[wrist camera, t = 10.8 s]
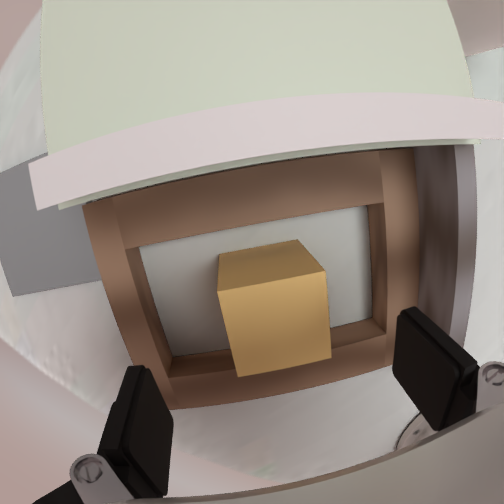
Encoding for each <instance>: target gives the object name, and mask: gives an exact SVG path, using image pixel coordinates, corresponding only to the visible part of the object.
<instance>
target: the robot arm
mask: <svg viewBox="0 0 504 504" xmlns="http://www.w3.org/2000/svg"><path fill="white" fill-rule="evenodd" d="M392 371H393V374H394V376H395V378H396V379H397V381H398V382H399V383H400V385H401V386H402V387H403V389H404V390H405V392H406V393H407V394H408V396H409V397H410V399H411V400H412V401H413V403H414V404H415V405H416V407H417V408H418V410H419V411H420V413H421V414H420V415H419V416H418V417H417V418H416V419H415V420H414V421H413V422H412V423H411V424H410V425H409V427H408V428H407V429H406V431H405V432H404V433H403V435H402V437H401V439H400V441H399V443H398V446H397V450H396V451H394V452H391V453H389V454H386V455H383V456H381V457H378V458H375V459H373V460H370V461H367V462H364V463H361V464H358V465H355V466H352V467H349V468H346V469H342V470H339V471H336V472H332V473H329V474H325V475H321V476H317V477H314V478H310V479H305V480H301V481H297V482H292V483H288V484H283V485H278V486H273V487H267V488H261V489H255V490H249V491H242V492H234V493H225V494H216V495H205V496H193V497H192V496H191V497H174V498H173V497H171V498H163V496H166V495H167V492H168V480H169V468H170V456H171V446H172V436H173V426H174V423H173V418H172V415H171V413H170V411H169V409H168V407H167V405H166V403H165V401H164V399H163V397H162V394H161V392H160V390H159V388H158V386H157V383H156V381H155V379H154V377H153V374H152V372H151V370H150V369H149V368H145V366H144V365H135V366H129V367H128V368H127V370H126V373H125V376H124V379H123V382H122V385H121V387H120V390H119V393H118V396H117V399H116V401H115V402H113V404H112V407H111V410H110V413H109V416H108V419H107V422H106V425H105V428H104V431H103V434H102V438H101V441H100V444H99V448H98V451H97V454H86V455H83V456H81V457H79V458H78V459H77V460H75V462H74V463H73V464H72V466H71V468H70V478H71V480H70V481H68V482H67V483H65V484H63V485H62V486H60V487H59V488H57V489H55V490H54V491H52V492H50V493H48V494H47V495H45V496H43V497H41V498H40V499H38V500H36V501H35V502H34V503H33V504H504V363H502V362H497V361H491V362H487V363H485V364H484V365H482V366H481V367H479V366H478V365H477V361H476V360H475V359H474V358H473V357H472V356H471V355H470V354H469V353H467V352H466V351H465V350H464V349H463V348H462V347H461V346H460V345H459V344H458V343H457V342H455V341H454V340H453V339H452V338H451V337H450V336H449V335H448V334H447V333H446V332H444V331H443V330H442V329H441V328H440V327H439V326H438V325H437V324H435V323H434V322H433V321H432V320H431V319H430V318H429V317H427V316H426V315H425V314H424V313H423V312H422V311H420V310H419V309H418V308H417V307H415V306H413V307H410V308H407V309H403V310H401V312H400V315H398V316H397V322H396V336H395V347H394V357H393V366H392Z"/></svg>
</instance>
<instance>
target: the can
mask: <svg viewBox="0 0 504 504" xmlns="http://www.w3.org/2000/svg"><path fill="white" fill-rule="evenodd" d="M447 3H448V5H449V8H450V11H451V13H452V16H453V19H454V22H455V25H456V28H457V31H458V34H459V38H460V41H461V44H462V48H463V51H464V55H465V57H467V56H471V55H475V54H478V53H482V52H485V51H489V50H493V49H496V48H500V47H504V0H447Z"/></svg>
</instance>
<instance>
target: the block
mask: <svg viewBox="0 0 504 504" xmlns="http://www.w3.org/2000/svg"><path fill="white" fill-rule="evenodd" d="M217 293H218V298H219V302H220V306H221V311H222V315H223V319H224V323H225V327H226V331H227V335H228V340H229V344H230V348H231V352H232V356H233V359H234V363H235V367H236V371H237V375H238V377H242V376H248V375H254V374H259V373H265V372H270V371H275V370H280V369H285V368H290V367H294V366H299V365H303V364H308V363H312V362H316V361H321V360H325V359H329V358H332V357H331V338H330V322H329V307H328V294H327V282H326V271H325V270H324V269H323V267H322V266H321V265H320V264H319V263H318V262H317V261H316V260H315V258H314V257H313V256H312V255H311V254H310V253H309V252H308V251H307V249H306V248H305V247H304V246H303V245H302V244H301V243H300V242H299V240H298V239H297V240H292V241H286V242H281V243H276V244H270V245H265V246H259V247H254V248H249V249H243V250H238V251H233V252H227V253H222V254H219V268H218V285H217Z"/></svg>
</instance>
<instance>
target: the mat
mask: <svg viewBox="0 0 504 504" xmlns="http://www.w3.org/2000/svg"><path fill="white" fill-rule="evenodd" d="M46 156H48V152H47V153H44V154H42V155H39V156H37V157H35V158H32V159H30V160H28V161H25V162H23V163H21V164H19V165H17V166H14V167H12V168H10V169H8V170H6V171H4V172H2V173H0V260H1V264H2V267H3V270H4V273H5V276H6V279H7V282H8V285H9V288H10V290H11V293H12V296H13V297H14V296H19V295H24V294H30V293H35V292H40V291H46V290H51V289H56V288H62V287H67V286H72V285H78V284H83V283H88V282H94V281H99V280H102V279H101V275H100V272H99V269H98V266H97V262H96V259H95V256H94V252H93V249H92V245H91V241H90V238H89V234H88V230H87V226H86V222H85V218H84V214H83V210H82V205H85V204H88V203H91V201H88V202H85V203H81V204H78V205H74V206H71V207H68V208H64V209H61V210H59V208H58V204H56V205H53V206H50V207H47V208H44V209H41V210H38V211H37V207H36V203H35V198H34V193H33V188H32V183H31V178H30V172H29V166H28V164H29V163H31V162H34V161H36V160H38V159H41V158H43V157H46Z"/></svg>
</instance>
